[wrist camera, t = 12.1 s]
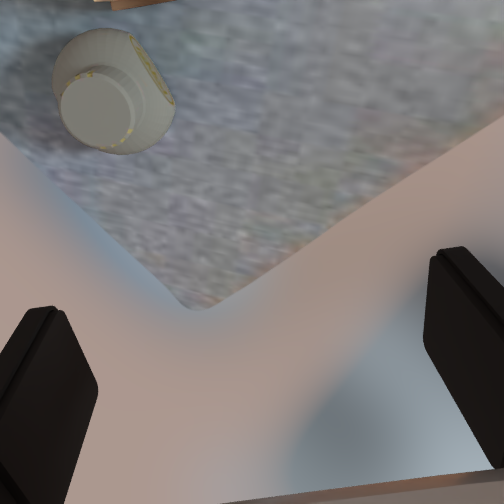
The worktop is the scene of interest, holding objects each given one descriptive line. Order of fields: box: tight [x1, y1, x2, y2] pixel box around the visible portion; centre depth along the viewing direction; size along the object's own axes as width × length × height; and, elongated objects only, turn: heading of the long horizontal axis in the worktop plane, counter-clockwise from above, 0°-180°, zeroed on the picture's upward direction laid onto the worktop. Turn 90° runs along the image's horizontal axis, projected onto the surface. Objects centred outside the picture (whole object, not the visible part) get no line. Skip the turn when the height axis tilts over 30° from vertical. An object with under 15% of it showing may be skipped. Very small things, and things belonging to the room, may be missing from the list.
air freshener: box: [52, 28, 176, 155], centre depth 38 cm, size 11×8×10 cm
